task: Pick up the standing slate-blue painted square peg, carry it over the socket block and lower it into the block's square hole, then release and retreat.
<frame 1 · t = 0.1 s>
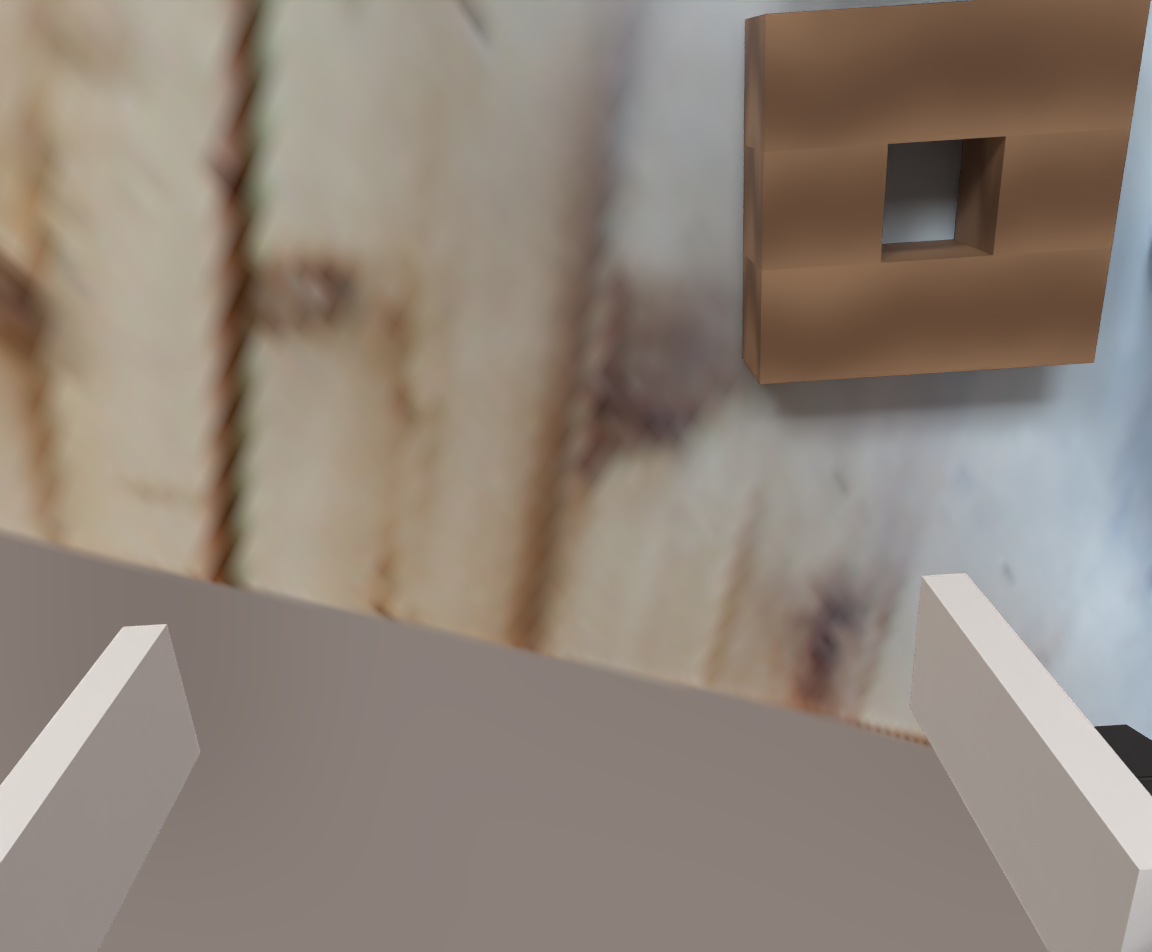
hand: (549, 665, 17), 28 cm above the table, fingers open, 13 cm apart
socket block: (906, 189, 41), on the table
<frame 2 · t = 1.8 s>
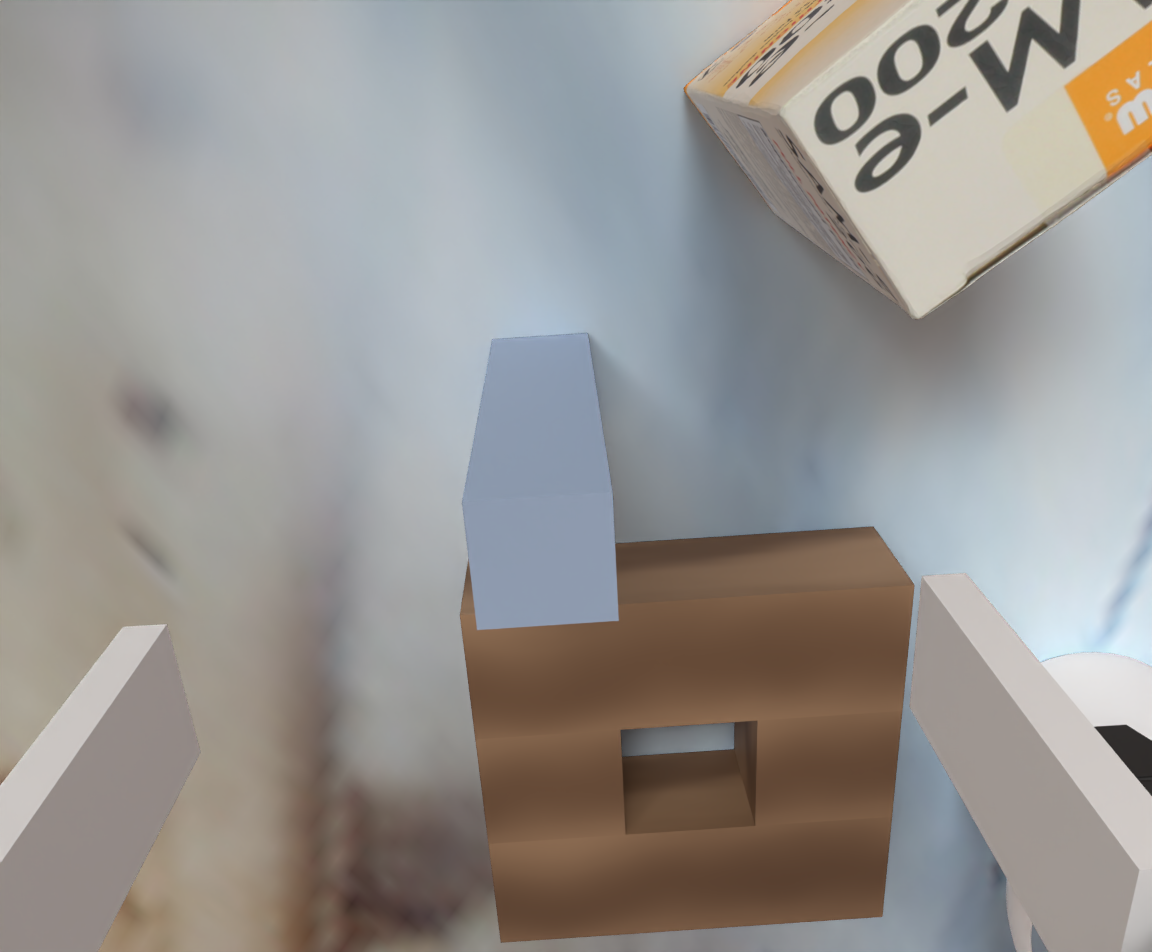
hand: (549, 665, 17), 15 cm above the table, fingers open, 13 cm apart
peg: (543, 381, 31), on the table
supplement box: (835, 57, 27), on the table
socket block: (674, 705, 36), on the table
mug: (1041, 766, 38), on the table
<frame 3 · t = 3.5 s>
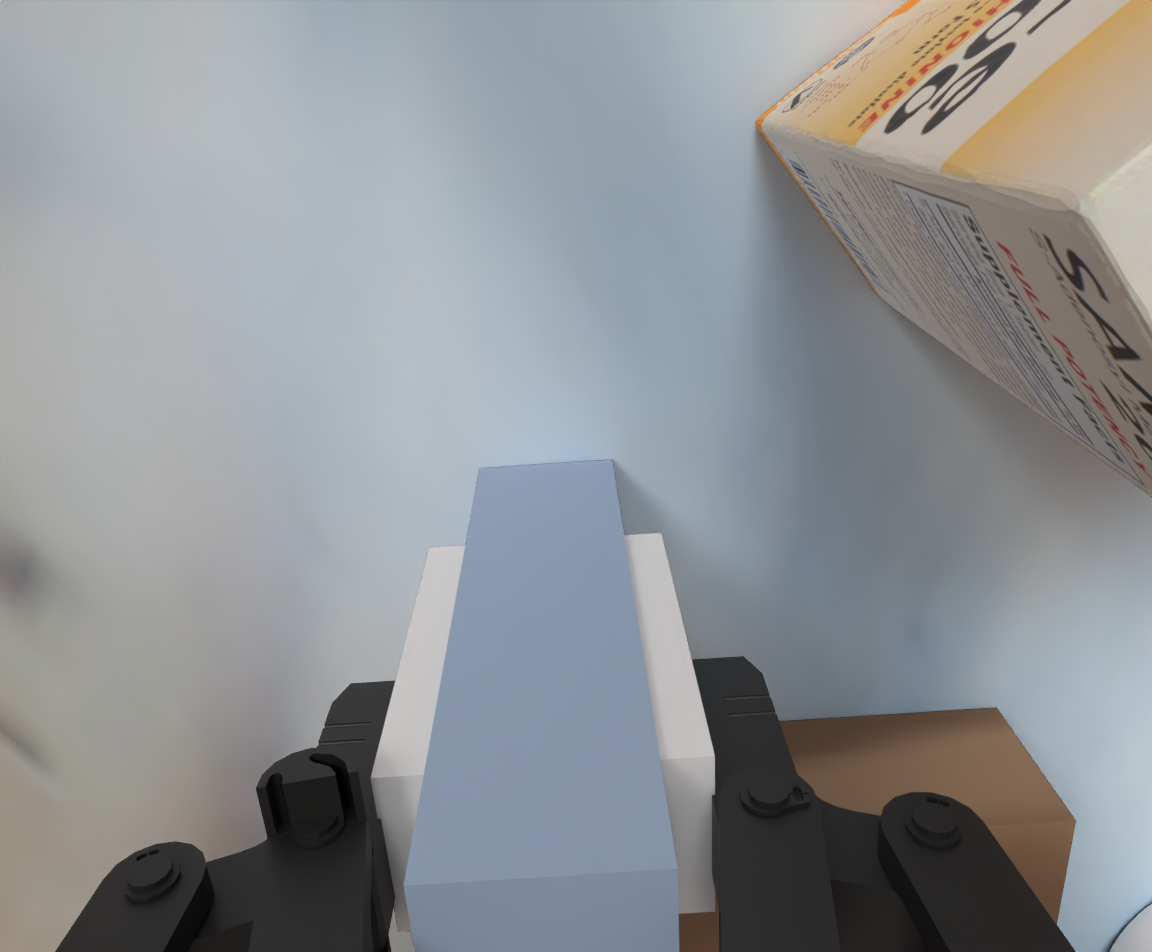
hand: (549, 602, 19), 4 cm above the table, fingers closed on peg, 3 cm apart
peg: (550, 523, 22), on the table, touching gripper
supplement box: (975, 77, 19), on the table
socket block: (722, 926, 27), on the table
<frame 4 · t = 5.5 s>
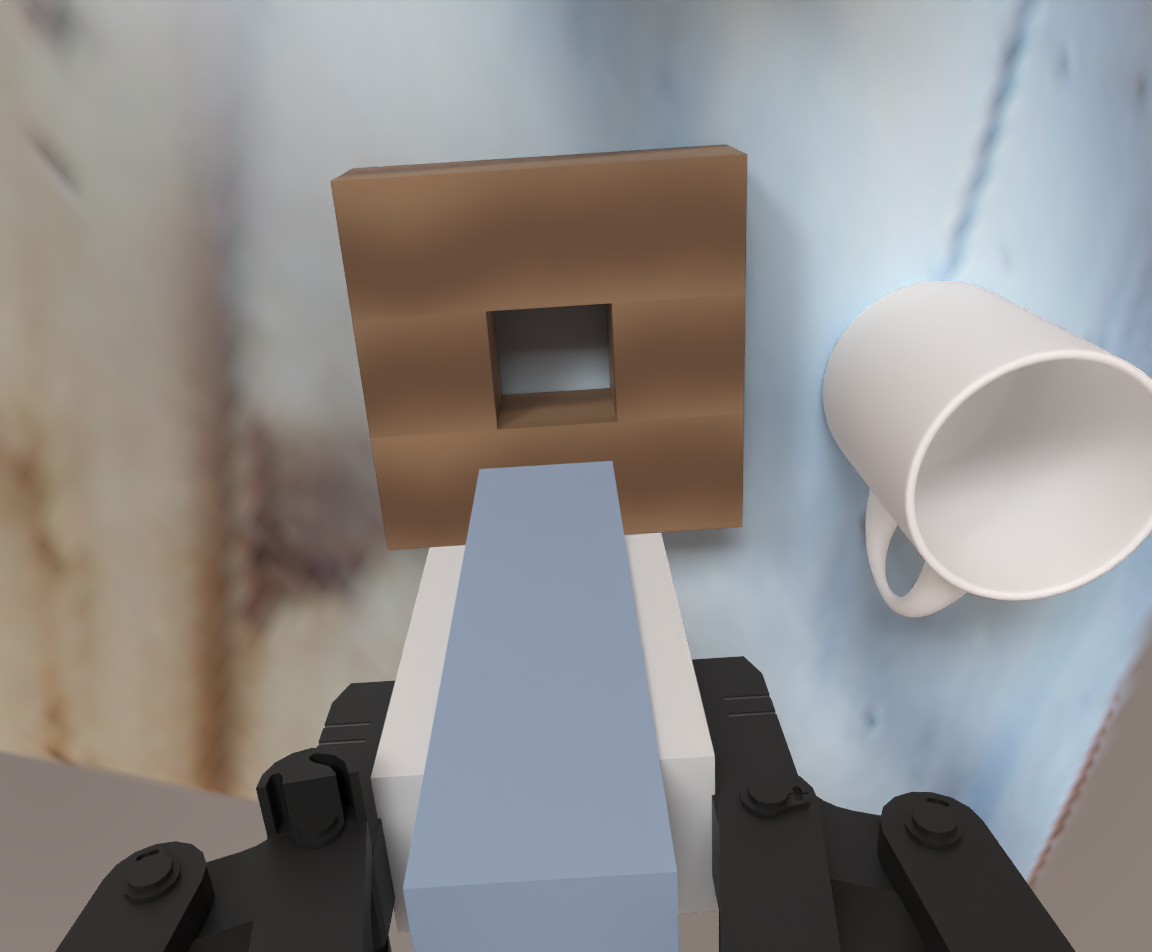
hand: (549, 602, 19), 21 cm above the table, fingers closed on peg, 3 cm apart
peg: (550, 524, 22), point 18 cm above the table, touching gripper
socket block: (552, 338, 38), on the table
mug: (900, 413, 40), on the table
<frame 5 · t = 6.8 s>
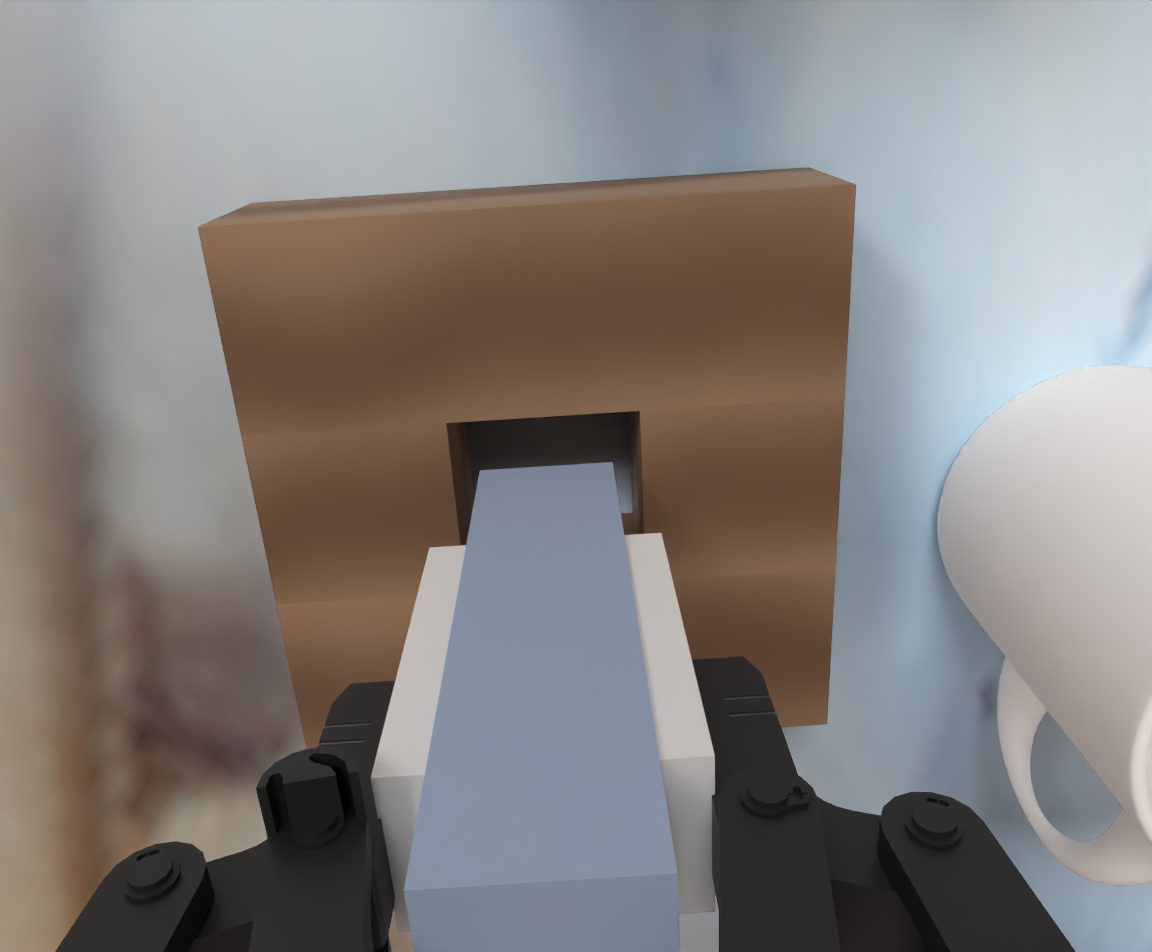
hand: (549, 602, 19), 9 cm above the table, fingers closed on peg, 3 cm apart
peg: (550, 526, 22), point 5 cm above the table, touching gripper
socket block: (549, 445, 27), on the table
mug: (1043, 545, 29), on the table
when the fingers open (5 cm above the table, at t = 7.7 s): peg drops 2 cm, resting in socket block.
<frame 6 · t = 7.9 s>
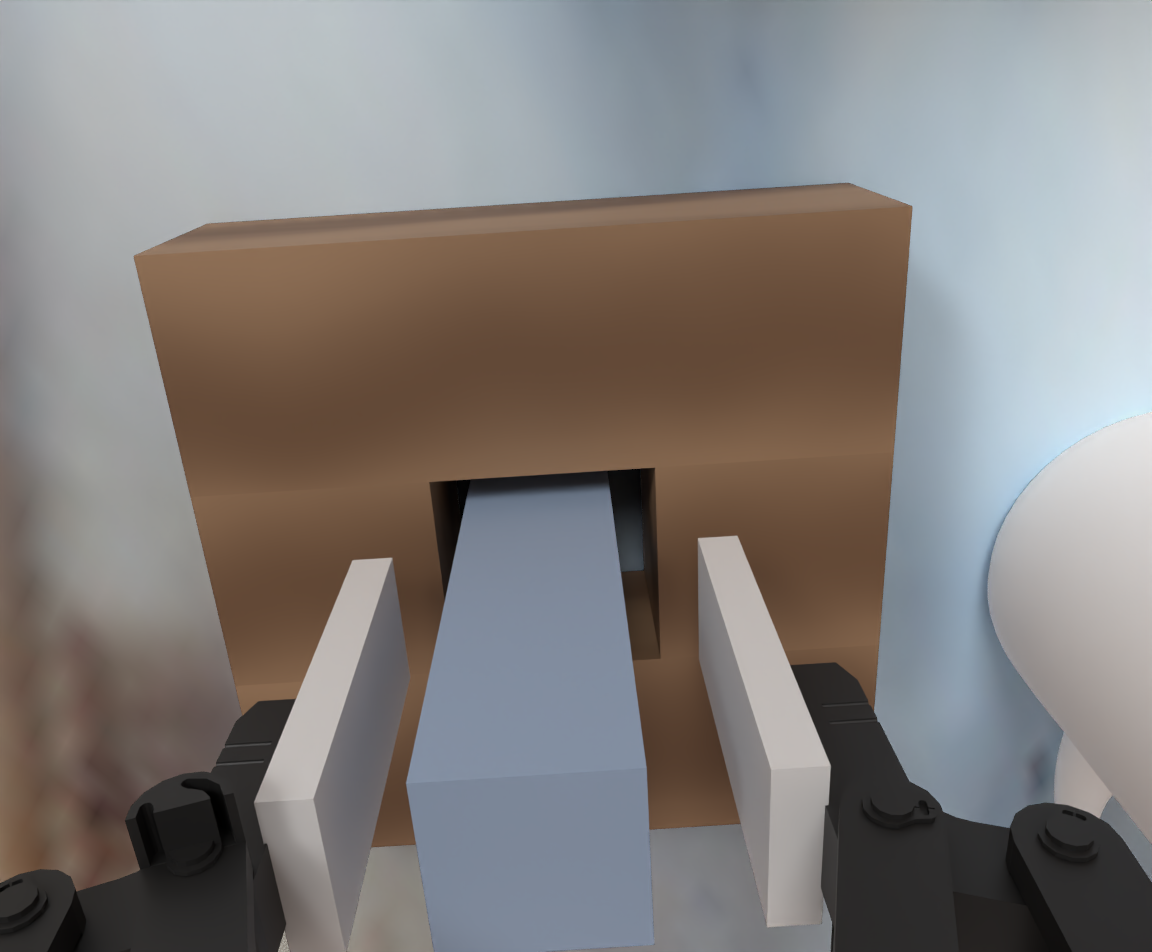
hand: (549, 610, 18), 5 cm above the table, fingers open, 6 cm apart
peg: (545, 496, 24), resting in socket block
socket block: (550, 495, 24), on the table
mug: (1104, 604, 25), on the table
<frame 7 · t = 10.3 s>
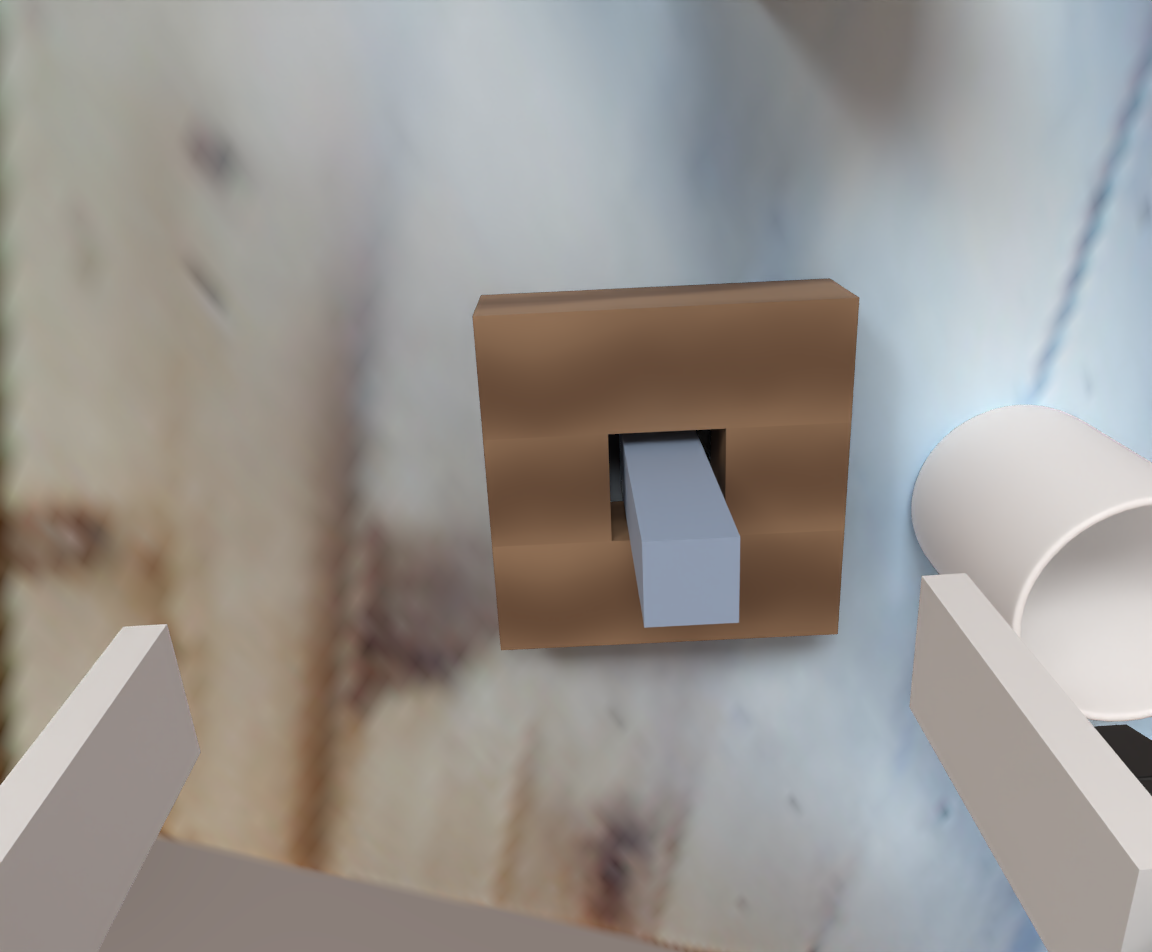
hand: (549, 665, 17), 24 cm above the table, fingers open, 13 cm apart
peg: (654, 451, 41), resting in socket block
socket block: (657, 450, 41), on the table
mug: (983, 524, 43), on the table
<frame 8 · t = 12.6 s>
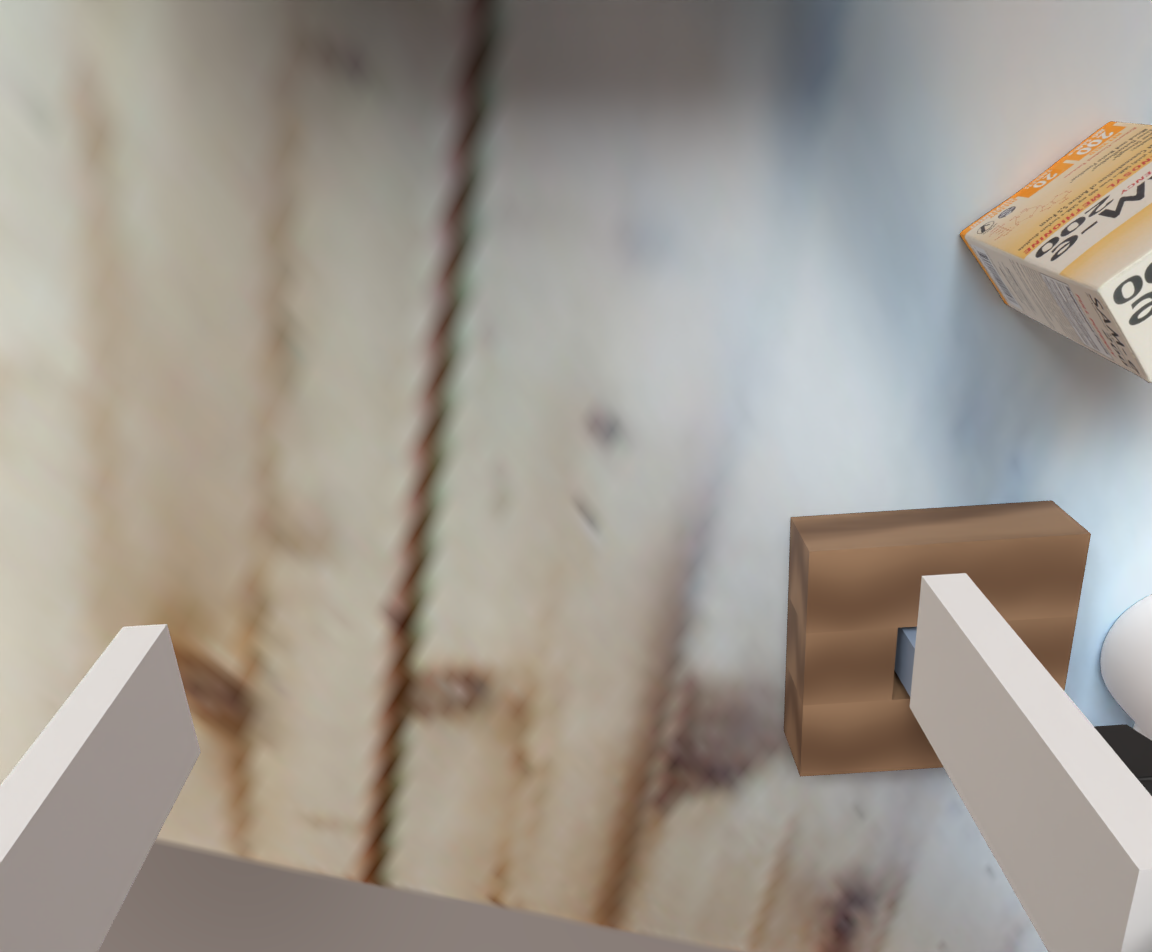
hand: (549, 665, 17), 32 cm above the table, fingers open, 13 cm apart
peg: (908, 621, 54), resting in socket block
supplement box: (1050, 214, 45), on the table
socket block: (911, 621, 54), on the table
mug: (1151, 666, 56), on the table
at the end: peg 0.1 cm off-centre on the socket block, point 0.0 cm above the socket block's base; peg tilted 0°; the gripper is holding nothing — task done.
